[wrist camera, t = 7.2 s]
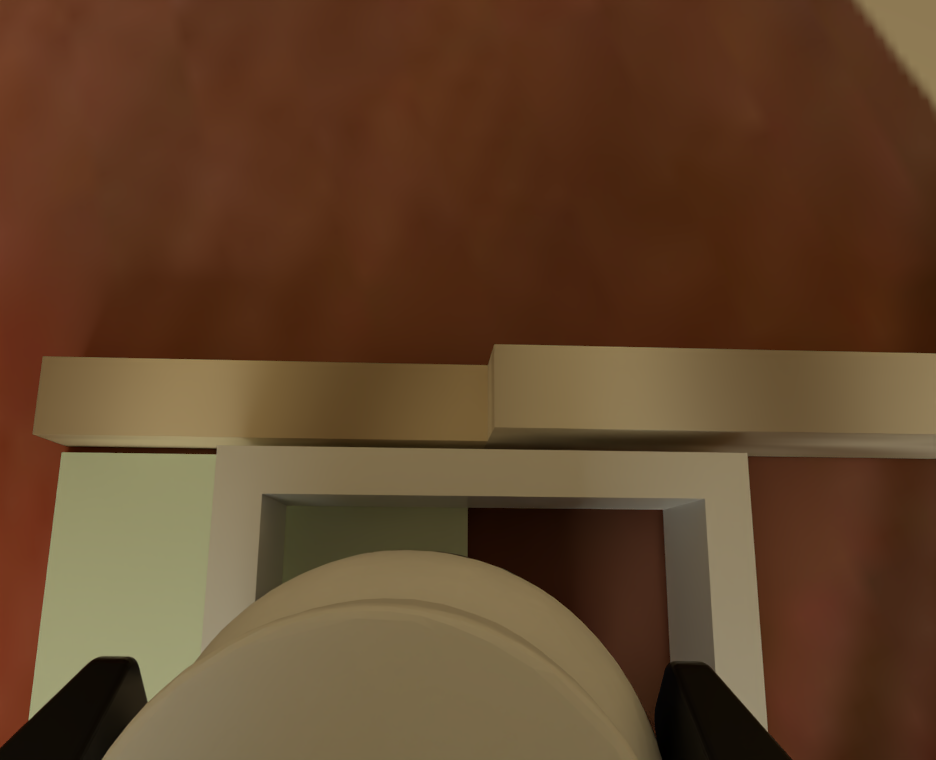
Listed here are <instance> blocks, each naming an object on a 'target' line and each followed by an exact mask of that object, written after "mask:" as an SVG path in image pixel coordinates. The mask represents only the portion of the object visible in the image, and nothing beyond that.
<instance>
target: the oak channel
mask: <svg viewBox="0 0 936 760" xmlns="http://www.w3.org/2000/svg"><path fill="white" fill-rule="evenodd" d="M33 435H36V436H39V437H42V438H45V439H47V440H50V441H53V442H56V443H59V444H62V445H64V446H73V447H143V448H213V449H217V445H234V446H303V447H372V448H441V449H510V450H579V451H648V452H718V453H747V456H774V457H844V458H914V459H936V354H935V353H888V352H841V351H793V350H746V349H699V348H652V347H605V346H557V345H510V344H494V347H493V350H492V353H491V356H490V359H489V363H488V365H453V364H402V363H352V362H301V361H251V360H200V359H150V358H100V357H49V356H43V359H42V366H41V374H40V382H39V389H38V397H37V404H36V412H35V419H34V427H33Z"/></svg>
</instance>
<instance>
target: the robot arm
mask: <svg viewBox="0 0 936 760" xmlns="http://www.w3.org/2000/svg"><path fill="white" fill-rule="evenodd" d="M146 703H148V701H147V697H146V693H145V689H144V684H143V680H142V676H141V672H140V668H139V665H138V662H137V661H136V660H135V659H134V658H133V657H130V656H101V657H97V658H95V659H93V660H91V661H90V662H89V663H88V664H87V665H86V666H84V667H83V668H82V669H81V670H80V671H79V672H78V673H77V674H76V675H75V676H74V677H73V678H72V679H71V680H70V681H69V682H68V683H67V684H66V685H65V686H64V687H63V688H62V689H61V690H60V691H59V692H58V693H57V694H56V695H54V696H53V697H52V698H51V699H50V700H49V701H48V702H47V703H46V704H45V705H44V706H43V707H42V708H41V709H40V710H39V711H38V712H37V713H36V714H35V715H34V716H33V717H32V718H31V719H30V720H29V721H28V722H27V723H26V724H24V725H23V726H22V727H21V728H20V729H19V730H18V731H17V732H16V733H15V734H14V735H13V736H12V737H11V738H10V739H9V740H8V741H7V742H6V743H5V744H4V745H3V746H2V747H1V748H0V760H102V758H103V757H104V755H105V754H106V753H107V751H108V750H109V748H110V747H111V746H112V744H113V743H114V742H115V740H116V739H117V738H118V737H119V735H120V734H121V733H122V732H123V730H124V729H125V728H126V726H127V725H128V724H129V723H130V722H131V720H132V719H133V718H134V717H135V716H136V715H137V714H138V713H139V711H140V710H141V709H142V708H143V707H144V706H145V705H146ZM655 731H656V738H657V744H658V747H659V751H660V754H661V757H662V760H792V759H791V758H790V757H789V756H788V754H787V753H786V752H785V751H784V750H783V749H782V748H781V746H780V745H779V744H778V743H777V742H776V741H775V740H774V738H773V737H772V736H771V735H770V734H769V733H768V732H767V730H766V729H765V728H764V727H763V726H762V725H761V724H760V723H759V721H758V720H757V719H756V718H755V717H754V716H753V715H752V713H751V712H750V711H749V710H748V709H747V708H746V707H745V705H744V704H743V703H742V702H741V701H740V700H739V699H738V697H737V696H736V695H735V694H734V693H733V692H732V691H731V689H730V688H729V687H728V686H727V685H726V684H725V683H724V682H723V680H722V679H721V678H720V677H719V676H718V675H717V674H716V672H715V671H714V670H713V669H712V668H711V667H710V666H709V665H708V664H706V663H704V662H701V661H672V662H670V663H669V664H668V665H667V667H666V669H665V672H664V676H663V680H662V684H661V688H660V692H659V696H658V699H657V703H656V708H655Z"/></svg>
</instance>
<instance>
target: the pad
mask: <svg viewBox="0 0 936 760" xmlns="http://www.w3.org/2000/svg"><path fill="white" fill-rule="evenodd" d="M215 466H216V454H149V453H77V452H62V454H61V462H60V470H59V478H58V486H57V494H56V503H55V511H54V519H53V527H52V535H51V543H50V551H49V559H48V567H47V575H46V583H45V591H44V599H43V608H42V616H41V624H40V632H39V640H38V648H37V656H36V664H35V672H34V680H33V688H32V696H31V704H30V713H29V720H30V719H31V718H32V717H33V716H34V715H35V714H36V713H37V712H38V711H39V710H40V709H41V708H42V707H43V706H44V705H45V704H46V703H47V702H48V701H49V700H50V699H51V698H52V697H53V696H54V695H56V694H57V693H58V692H59V691H60V690H61V689H62V688H63V687H64V686H65V685H66V684H67V683H68V682H69V681H70V680H71V679H72V678H73V677H74V676H75V675H76V674H77V673H78V672H79V671H80V670H81V669H82V668H83V667H84V666H86V665H87V664H88V663H89V662H90V661H91V660H93V659H95V658H97V657H101V656H130V657H133V658H134V659H135V660H136V661H137V662H138V665H139V668H140V672H141V676H142V680H143V684H144V689H145V693H146V697H147V701H148V702H149V701H150V700H151V699H152V698H153V697H154V696H155V695H156V694H157V693H158V692H159V691H160V690H162V689H163V688H164V687H165V686H166V685H167V684H168V683H170V682H171V681H172V680H173V679H174V678H175V677H177V676H178V675H179V674H180V673H181V672H182V671H184V670H185V669H186V668H188V667H189V666H191V665H192V664H193V663H194V662H195V661H196V660H197V658H198V657H199V656H200V655H201V643H202V630H203V617H204V605H205V592H206V579H207V567H208V554H209V541H210V529H211V516H212V503H213V491H214V478H215ZM391 550H417V551H438V552H447V553H452V554H458V555H462V556H466V557H468V508H451V507H358V506H287V507H286V524H285V541H284V558H283V576H282V584H283V583H285V582H287V581H289V580H291V579H293V578H294V577H296V576H299V575H301V574H303V573H305V572H307V571H310V570H312V569H315V568H317V567H320V566H322V565H325V564H327V563H330V562H334V561H337V560H341V559H344V558H348V557H351V556H355V555H359V554H363V553H370V552H378V551H391Z"/></svg>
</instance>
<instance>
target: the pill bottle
mask: <svg viewBox="0 0 936 760" xmlns="http://www.w3.org/2000/svg"><path fill="white" fill-rule="evenodd" d="M102 760H662V757H661V754H660V751H659V747H658V744H657V740H656V737H655V735H654V733H653V730H652V728H651V725H650V723H649V720H648V718H647V715H646V713H645V711H644V709H643V707H642V705H641V703H640V701H639V699H638V697H637V695H636V693H635V691H634V689H633V687H632V686H631V684H630V682H629V681H628V679H627V678H626V676H625V674H624V673H623V671H622V670H621V668H620V666H619V665H618V663H617V662H616V661H615V659H614V658H613V657H612V655H611V654H610V653H609V652H608V650H607V649H606V648H605V647H604V645H603V644H602V643H601V642H600V640H599V639H598V638H597V637H596V636H595V635H594V634H593V633H592V632H591V631H590V630H589V629H588V627H587V626H586V625H585V624H584V623H583V622H582V621H581V620H580V619H578V618H577V617H576V616H575V615H574V614H573V613H572V612H571V611H570V610H569V609H567V608H566V607H565V606H564V605H562V604H561V603H560V602H559V601H558V600H556V599H555V598H554V597H552V596H551V595H549V594H548V593H546V592H545V591H543V590H542V589H540V588H539V587H537V586H536V585H534V584H532V583H530V582H528V581H526V580H524V579H523V578H521V577H519V576H517V575H515V574H513V573H512V572H510V571H508V570H506V569H503V568H500V567H497V566H494V565H491V564H488V563H485V562H482V561H479V560H476V559H472V558H469V557H466V556H462V555H458V554H452V553H447V552H438V551H417V550H391V551H378V552H370V553H363V554H359V555H355V556H351V557H348V558H344V559H341V560H337V561H334V562H330V563H327V564H325V565H322V566H320V567H317V568H315V569H312V570H310V571H307V572H305V573H303V574H301V575H299V576H296V577H294V578H293V579H291V580H289V581H287V582H285V583H283V584H281V585H280V586H278V587H276V588H274V589H273V590H271V591H270V592H268V593H267V594H265V595H264V596H262V597H261V598H259V599H258V600H257V601H255V602H254V603H252V604H251V605H249V606H248V607H247V608H246V609H245V610H244V611H242V612H241V613H240V614H239V615H238V616H237V617H235V618H234V619H233V620H232V621H231V622H230V623H229V624H228V625H227V626H226V627H224V628H223V629H222V630H221V631H220V632H219V633H218V635H217V636H216V637H215V638H214V639H213V640H212V641H211V642H210V644H209V645H208V646H207V647H206V648H205V649H204V651H203V652H202V653H201V655H200V656H199V657H198V658H197V660H196V661H195V662H194V663H193V664H192V665H191V666H189V667H188V668H186V669H185V670H184V671H182V672H181V673H180V674H179V675H178V676H177V677H175V678H174V679H173V680H172V681H171V682H170V683H168V684H167V685H166V686H165V687H164V688H163V689H162V690H160V691H159V692H158V693H157V694H156V695H155V696H154V697H153V698H152V699H151V700H150V701H149V702H148V703H146V705H145V706H144V707H143V708H142V709H141V710H140V711H139V713H138V714H137V715H136V716H135V717H134V718H133V719H132V720H131V722H130V723H129V724H128V725H127V726H126V728H125V729H124V730H123V732H122V733H121V734H120V735H119V737H118V738H117V739H116V740H115V742H114V743H113V744H112V746H111V747H110V748H109V750H108V751H107V753H106V754H105V755H104V757H103V758H102Z"/></svg>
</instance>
